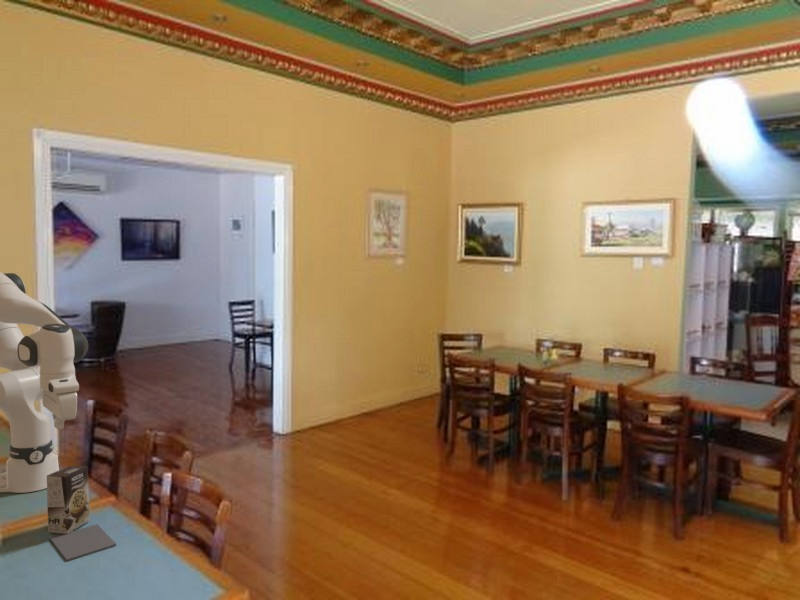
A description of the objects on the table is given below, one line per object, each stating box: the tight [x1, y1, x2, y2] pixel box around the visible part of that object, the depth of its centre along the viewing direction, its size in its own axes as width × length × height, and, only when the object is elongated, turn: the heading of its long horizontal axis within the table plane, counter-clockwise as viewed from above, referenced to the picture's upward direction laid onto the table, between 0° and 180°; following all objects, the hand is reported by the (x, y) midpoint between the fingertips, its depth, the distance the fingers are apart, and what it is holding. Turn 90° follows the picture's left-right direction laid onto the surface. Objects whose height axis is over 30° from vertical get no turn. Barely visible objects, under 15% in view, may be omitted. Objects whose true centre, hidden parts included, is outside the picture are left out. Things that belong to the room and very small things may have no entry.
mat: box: [49, 524, 117, 562], centre depth 161 cm, size 15×12×1 cm
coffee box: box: [46, 465, 91, 535], centre depth 168 cm, size 9×6×16 cm
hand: (59, 428), depth 172 cm, fingers closed
